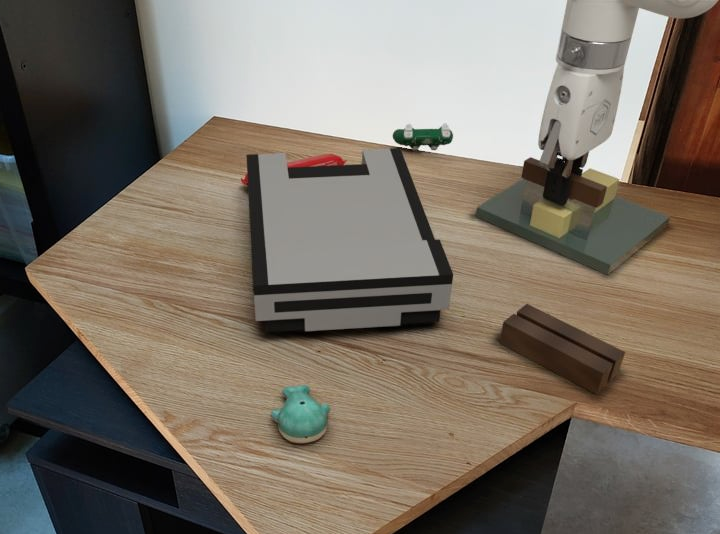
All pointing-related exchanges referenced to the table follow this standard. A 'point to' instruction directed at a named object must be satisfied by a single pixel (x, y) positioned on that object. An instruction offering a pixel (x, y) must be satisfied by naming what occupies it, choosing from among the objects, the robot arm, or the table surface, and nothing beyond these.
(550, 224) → the butter pat
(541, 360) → the block
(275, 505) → the table surface
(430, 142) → the gaming controller
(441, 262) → the game console
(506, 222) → the cutting board
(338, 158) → the candy bar
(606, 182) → the butter stick
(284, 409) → the whale figurine
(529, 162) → the bench scraper
